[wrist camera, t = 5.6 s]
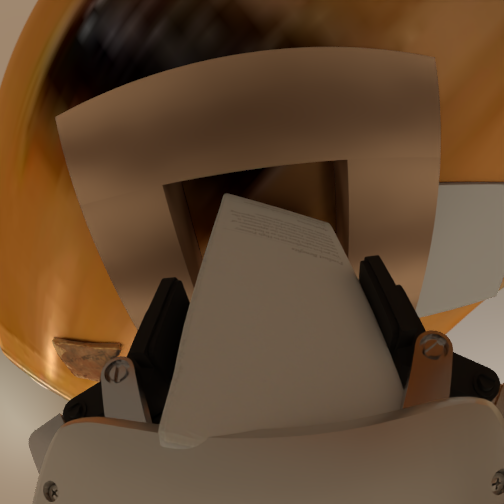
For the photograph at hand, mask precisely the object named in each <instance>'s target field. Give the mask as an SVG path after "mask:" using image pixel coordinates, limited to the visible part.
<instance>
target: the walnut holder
mask: <svg viewBox="0 0 504 504" xmlns="http://www.w3.org/2000/svg"><path fill="white" fill-rule="evenodd" d="M55 119H56V123H57V128H58V132H59V136H60V141H61V145H62V148H63V152H64V156H65V160H66V163H67V167H68V170H69V173H70V177H71V180H72V183H73V186H74V189H75V192H76V195H77V198H78V201H79V204H80V207H81V209H82V212H83V215H84V218H85V220H86V223H87V225H88V228H89V231H90V233H91V236H92V238H93V240H94V243H95V245H96V248H97V250H98V252H99V255H100V257H101V259H102V261H103V263H104V266H105V268H106V270H107V272H108V274H109V276H110V279H111V281H112V283H113V285H114V287H115V289H116V291H117V293H118V295H119V297H120V299H121V301H122V303H123V304H124V306H125V308H126V310H127V312H128V314H129V316H130V318H131V319H132V321H133V323H134V325H135V326H136V328H137V330H138V329H139V327H140V325H141V322H142V320H143V318H144V315H145V313H146V312H147V310H148V308H149V306H150V304H151V301H152V299H153V297H154V295H155V293H156V291H157V288H158V286H159V284H160V282H161V280H162V279H163V278H170V277H176V278H177V279H178V280H181V281H182V283H183V286H184V289H185V291H186V294H187V296H188V299H189V302H190V301H191V298H192V294H193V291H194V287H195V284H196V280H197V277H198V274H199V270H200V267H201V264H202V261H203V260H202V257H201V253H200V250H199V246H198V243H197V239H196V235H195V232H194V228H193V224H192V221H191V217H190V213H189V209H188V206H187V202H186V198H185V194H184V190H183V186H182V182H181V181H185V180H190V179H195V178H201V177H207V176H212V175H218V174H224V173H230V172H237V171H244V170H251V169H258V168H265V167H273V166H282V165H290V164H300V163H310V162H321V161H333V162H334V178H335V200H336V236H337V238H338V240H339V242H340V244H341V246H342V248H343V250H344V252H345V254H346V256H347V258H348V260H349V262H350V264H351V266H352V268H353V270H354V272H355V274H356V276H357V278H358V280H359V269H360V262H361V261H364V258H365V257H367V256H375V255H379V256H380V258H381V259H382V261H383V263H384V265H385V266H386V268H387V270H388V272H389V273H390V275H391V277H392V279H393V280H394V282H395V284H396V285H401V286H402V287H403V289H404V291H405V292H406V294H407V296H408V298H409V300H410V302H411V303H412V305H413V307H414V309H415V310H416V307H417V303H418V300H419V296H420V292H421V288H422V284H423V280H424V276H425V271H426V267H427V262H428V257H429V252H430V247H431V241H432V235H433V229H434V222H435V215H436V207H437V198H438V188H439V174H440V152H441V122H440V100H439V87H438V77H437V69H436V62H435V57H430V56H425V55H419V54H413V53H407V52H400V51H392V50H383V49H372V48H357V47H302V48H286V49H275V50H265V51H257V52H250V53H243V54H237V55H231V56H225V57H220V58H215V59H210V60H206V61H201V62H197V63H193V64H189V65H185V66H181V67H178V68H174V69H171V70H167V71H164V72H161V73H157V74H154V75H151V76H148V77H145V78H142V79H139V80H137V81H134V82H131V83H128V84H126V85H123V86H121V87H118V88H116V89H113V90H111V91H108V92H106V93H104V94H101V95H99V96H97V97H95V98H92V99H90V100H88V101H86V102H84V103H82V104H80V105H78V106H76V107H74V108H72V109H70V110H68V111H66V112H64V113H62V114H60V115H58V116H57V117H55Z"/></svg>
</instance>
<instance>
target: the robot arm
mask: <svg viewBox="0 0 504 504" xmlns="http://www.w3.org/2000/svg"><path fill="white" fill-rule="evenodd" d="M359 282H360V284H361V287H362V289H363V291H364V293H365V295H366V298H367V300H368V302H369V304H370V306H371V309H372V311H373V313H374V315H375V318H376V320H377V322H378V325H379V327H380V329H381V332H382V334H383V337H384V339H385V342H386V344H387V347H388V349H389V352H390V354H391V357H392V359H393V362H394V364H395V367H396V370H397V372H398V375H399V378H400V380H401V383H402V386H403V389H404V392H403V396H402V400H401V405H400V410H396V411H391V412H387V413H382V414H378V415H373V416H368V417H363V418H358V419H353V420H347V421H341V422H334V423H327V424H319V425H310V426H300V427H289V428H273V429H257V430H252V431H247V432H241V433H234V434H228V435H221V436H214V437H207V440H206V441H204V442H203V443H201V444H200V445H198V446H196V447H192V448H188V449H174V448H166V447H162V446H161V445H160V439H159V435H158V431H159V425H160V421H161V417H162V414H163V410H164V407H165V403H166V399H167V396H168V393H169V389H170V385H171V382H172V378H173V374H174V370H175V365H176V359H177V354H178V350H179V345H180V340H181V336H182V332H183V327H184V323H185V320H186V316H187V312H188V308H189V305H190V302H189V299H188V296H187V294H186V291H185V289H184V286H183V283H182V281H181V280H178V279H177V278H176V277H170V278H163V279H162V280H161V282H160V284H159V286H158V288H157V291H156V293H155V295H154V297H153V299H152V301H151V304H150V306H149V308H148V310H147V312H146V313H145V315H144V318H143V320H142V322H141V325H140V327H139V329H138V331H137V334H136V336H135V339H134V341H133V343H132V346H131V348H130V351H129V353H128V355H127V357H121V356H120V357H116V358H113V359H111V360H110V361H109V362H107V363H106V365H105V366H104V367H103V369H102V372H101V381H100V382H99V383H97V384H95V385H94V386H92V387H91V388H89V389H87V390H86V391H84V392H82V393H81V394H79V395H78V396H76V397H74V398H73V399H71V400H70V401H69V402H68V403H67V404H66V405H65V408H64V410H63V415H61V414H58V415H57V416H55V417H54V418H53V419H51V420H50V421H48V422H47V423H45V424H44V425H42V426H41V427H40V428H38V429H37V430H35V431H34V432H33V433H32V434H31V436H30V438H29V447H30V450H31V453H32V456H33V459H34V462H35V464H36V467H37V470H38V472H39V478H38V482H37V487H36V490H35V495H34V499H33V504H504V383H503V384H500V381H499V378H498V376H497V374H496V373H495V372H494V371H493V370H491V369H490V368H488V367H485V366H483V365H481V364H478V363H476V362H474V361H472V360H469V359H467V358H465V357H463V356H461V355H458V354H456V353H454V352H453V347H452V343H451V341H450V339H449V338H448V337H447V336H446V335H445V334H443V333H441V332H438V331H425V329H424V327H423V325H422V323H421V321H420V319H419V317H418V315H417V313H416V311H415V309H414V307H413V305H412V303H411V302H410V300H409V298H408V296H407V294H406V292H405V291H404V289H403V287H402V286H401V285H396V284H395V282H394V280H393V279H392V277H391V275H390V273H389V272H388V270H387V268H386V266H385V265H384V263H383V261H382V259H381V258H380V256H379V255H375V256H367V257H365V258H364V261H361V262H360V269H359Z"/></svg>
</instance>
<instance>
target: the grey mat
mask: <svg viewBox="0 0 504 504" xmlns="http://www.w3.org/2000/svg"><path fill="white" fill-rule="evenodd" d="M503 277H504V182H444V183H439V188H438V198H437V207H436V215H435V222H434V229H433V235H432V241H431V247H430V252H429V257H428V262H427V267H426V271H425V276H424V280H423V284H422V288H421V292H420V296H419V300H418V303H417V307H416V310H415V311H416V313H417V315H418V317H419V318H420V317H424V316H428V315H432V314H436V313H440V312H444V311H448V310H452V309H455V308H459V307H462V306H466V305H469V304H473V303H476V302H479V301H483V300H486V299H489V298H492V297H495V296H496V295H497V293H498V290H499V288H500V285H501V283H502V280H503Z"/></svg>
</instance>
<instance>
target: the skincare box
mask: <svg viewBox="0 0 504 504" xmlns="http://www.w3.org/2000/svg"><path fill="white" fill-rule="evenodd" d="M403 392H404V389H403V386H402V383H401V380H400V378H399V375H398V372H397V370H396V367H395V364H394V362H393V359H392V357H391V354H390V352H389V349H388V347H387V344H386V342H385V339H384V337H383V334H382V332H381V329H380V327H379V325H378V322H377V320H376V318H375V315H374V313H373V311H372V309H371V306H370V304H369V302H368V300H367V298H366V295H365V293H364V291H363V289H362V287H361V284H360V282H359V280H358V278H357V276H356V274H355V272H354V270H353V268H352V266H351V264H350V262H349V260H348V258H347V256H346V254H345V252H344V250H343V248H342V246H341V244H340V242H339V240H338V238H337V236H336V234H335V232H334V230H333V228H332V226H331V225H330V224H329V223H327V222H324V221H321V220H317V219H314V218H311V217H308V216H305V215H301V214H298V213H295V212H292V211H288V210H285V209H282V208H278V207H275V206H271V205H268V204H264V203H261V202H257V201H254V200H250V199H247V198H243V197H239V196H236V195H232V194H228V193H226V194H224V195H223V198H222V202H221V205H220V208H219V211H218V214H217V217H216V220H215V223H214V226H213V230H212V233H211V236H210V239H209V242H208V245H207V248H206V251H205V254H204V258H203V261H202V264H201V267H200V270H199V274H198V277H197V280H196V284H195V287H194V291H193V294H192V298H191V301H190V305H189V308H188V312H187V316H186V320H185V323H184V327H183V332H182V336H181V340H180V345H179V350H178V354H177V359H176V365H175V370H174V374H173V378H172V382H171V385H170V389H169V393H168V396H167V399H166V403H165V407H164V410H163V414H162V417H161V421H160V425H159V431H158V435H159V439H160V445H161V446H162V447H166V448H174V449H188V448H192V447H196V446H198V445H200V444H201V443H203V442H204V441H206V440H207V437H214V436H221V435H228V434H234V433H241V432H247V431H252V430H257V429H273V428H289V427H300V426H310V425H319V424H327V423H334V422H341V421H347V420H353V419H358V418H363V417H368V416H373V415H378V414H382V413H387V412H391V411H396V410H400V405H401V400H402V396H403Z"/></svg>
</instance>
